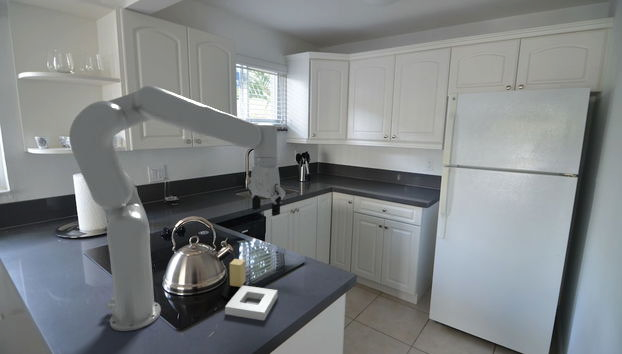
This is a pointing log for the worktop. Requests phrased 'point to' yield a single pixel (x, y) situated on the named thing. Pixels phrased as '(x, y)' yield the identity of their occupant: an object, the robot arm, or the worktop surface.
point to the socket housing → (251, 302)
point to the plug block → (237, 272)
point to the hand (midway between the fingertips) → (265, 212)
